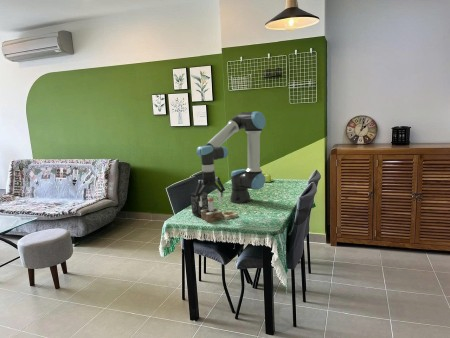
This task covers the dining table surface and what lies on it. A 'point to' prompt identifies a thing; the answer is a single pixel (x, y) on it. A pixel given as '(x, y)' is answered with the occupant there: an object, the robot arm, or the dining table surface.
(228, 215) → the mount block
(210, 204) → the lock pin
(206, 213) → the dock block
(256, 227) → the dining table surface
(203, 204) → the camera
